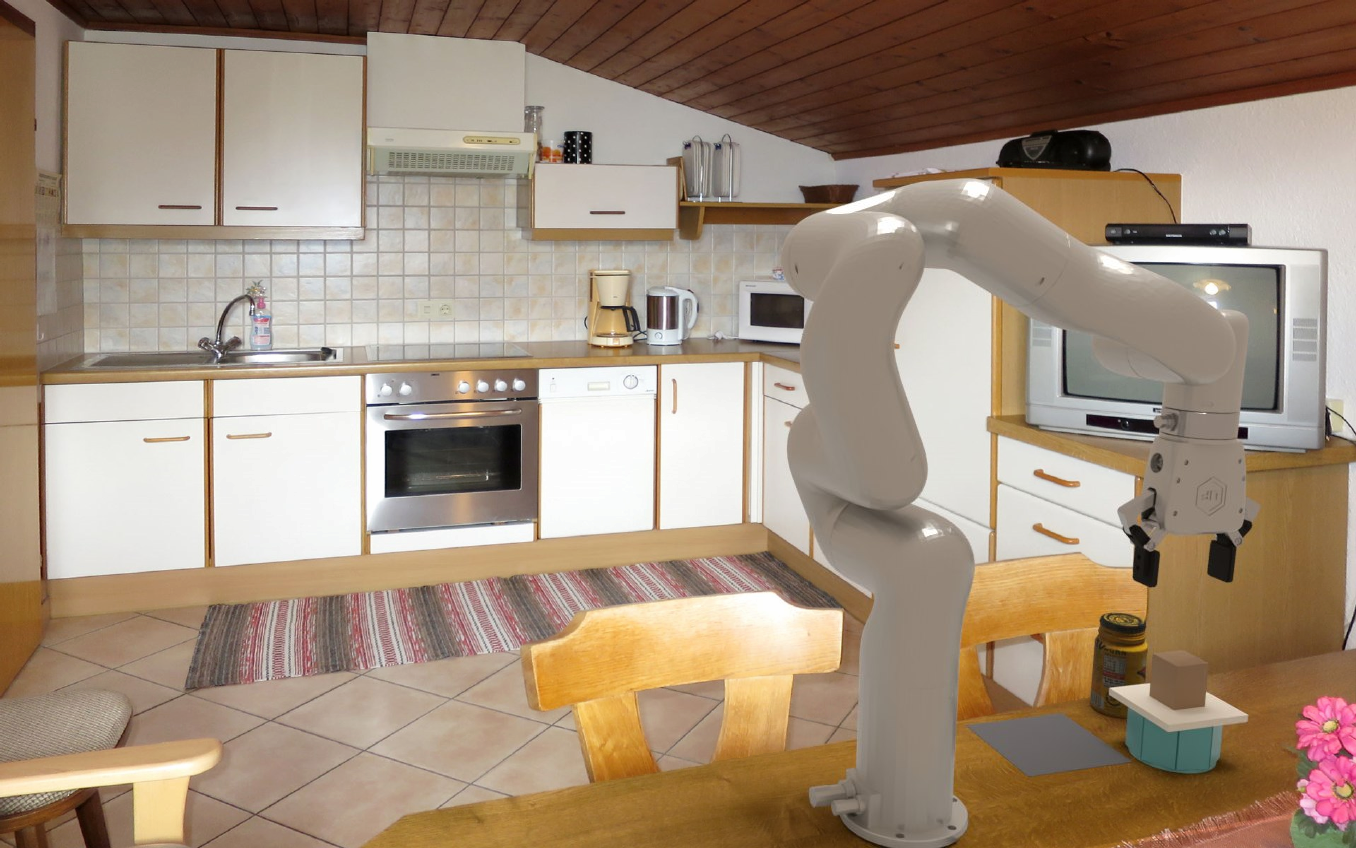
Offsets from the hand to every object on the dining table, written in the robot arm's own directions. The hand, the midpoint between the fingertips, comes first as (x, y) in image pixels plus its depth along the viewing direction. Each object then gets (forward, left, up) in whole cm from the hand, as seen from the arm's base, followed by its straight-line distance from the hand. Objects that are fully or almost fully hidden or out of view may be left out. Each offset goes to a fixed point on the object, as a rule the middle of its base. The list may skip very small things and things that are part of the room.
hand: (1182, 581), depth 120 cm
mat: (-11, +6, -21) cm, 24 cm away
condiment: (+2, +12, -21) cm, 24 cm away
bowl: (+1, 0, -21) cm, 21 cm away
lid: (+1, 0, -15) cm, 15 cm away
